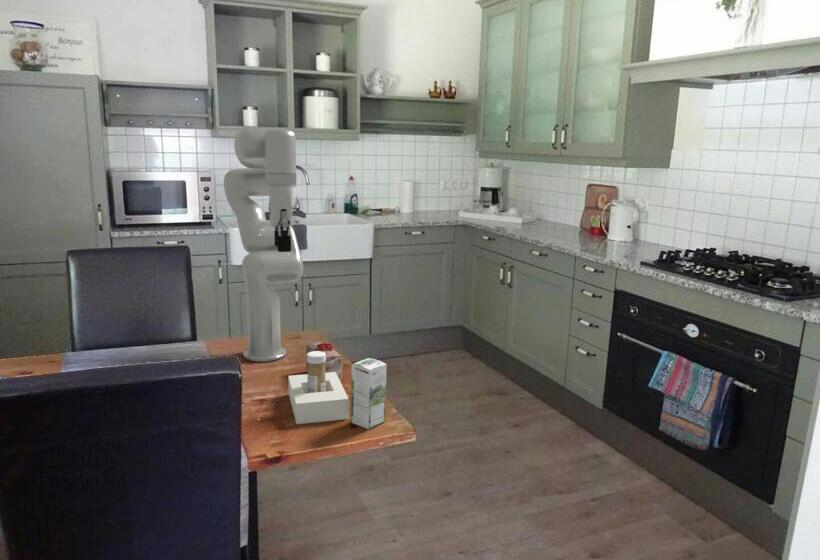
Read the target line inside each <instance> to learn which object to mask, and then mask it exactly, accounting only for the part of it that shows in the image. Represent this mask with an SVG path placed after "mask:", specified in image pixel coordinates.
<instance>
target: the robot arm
mask: <svg viewBox="0 0 820 560" xmlns="http://www.w3.org/2000/svg"><path fill="white" fill-rule="evenodd" d="M296 143H297V142H296V134H295V132H294V131H293V130H290V129H281V128H280V129H276V128H275V129H273V128H270V129H269V128H242V129H240V130H239V131H238V132H236V134H235V137H234V144H233V146H234V152H235V153H234V154H235V155H236V158H237V160H238V161H239V163H240V164H241V165H242V166H243V167H245V168H235V169H231V170H229V171H227V172H226V173H225V174H224V177H223V188H224V189H223V190H224V194H225V197H226V201H227V202H228V205H229V206H230V208H231V210H232V212H233V214H234V215H235V217H236V221H237V222H236V223H237V226H238V230H239V236H240V241H241V243H242V244H241V245H242V247H243V248H244V250H245V252H247V253H248V254H246V255H245V256H244V257H243V259H242V261H241V270H242V275H243V279H244V284H245V285H244V286H245V294H246V298H245V299H246V319H247V320H246V323H247V345H248V346H247V347H248V348H246V349H245V350H244V351H243V352H242V353H243V354H242V356H243V358H244V359H245V360H248V361H251V362H260V363H261V362H263V363H264V362H265V363H266V362H273V361H277V360H280V359H282V358H284V357H285V356H286V355H287V350H286V348H284V347H282V346H281V345H282V344H281V343H282V342H281V304H280V296H279V294H278V292H277V291H276V290H275V289H274V288H273V287H272V286H271V285H272V284H278V283H279V284H282V283H293V282H297V281H299V280H301V278H303V275H304V263H303V258H302V254H301V251H300V247H299V243H298V239H297V236H296V232H295V229H294V227H293V226H292V225H293V188H295V187H297V149H296V148H297V145H296ZM250 197H269V221H268V220H267V218H266V214H265V211H264V209H263V208H262V207H261V205H260V204H258V202H256V201H255V200H254V199H252V198H250Z"/></svg>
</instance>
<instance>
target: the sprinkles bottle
mask: <svg viewBox="0 0 820 560" xmlns="http://www.w3.org/2000/svg"><path fill="white" fill-rule="evenodd" d="M325 361H326V354H325V353H324V352H322V351H312V352H309V353H308V354H307V364H308V371H307V373H306V374H307V380H308V393H316V392H326V376H325Z"/></svg>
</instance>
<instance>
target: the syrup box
mask: <svg viewBox="0 0 820 560" xmlns="http://www.w3.org/2000/svg"><path fill="white" fill-rule="evenodd" d="M387 365H388V364H386V363H385V362H383V361H381V360H378V359H375V358H370V357H368V358H365V359H362V360H359V361H357V362H354V363H352V364H351V378H350V379H351V390H350V391H351V394H350V396H351V397H350V422H351V424H353V425H356V426H358V427H362V428H364V429H367V430H370V429H372V428H374V427H377V426H379V425H381V424H383V423H385V422H386V403H387V401H386V399H387V397H386V396H387V395H386V394H387Z"/></svg>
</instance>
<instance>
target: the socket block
mask: <svg viewBox="0 0 820 560" xmlns="http://www.w3.org/2000/svg"><path fill="white" fill-rule="evenodd" d="M325 376H326V392H316V393H308V380H307V373H306V374H296V375H295V374H294V375H288V381H287V382H288V396H289V400H290V405H291V408H292V412H293V415H294V420H295V424H296V425H304V424H312V423H313V424H315V423H321V422H322V423H323V422H331V421H340V420H341V421H342V420H349V419H350V417H349V416H350V414H349V411H350V409H349V407H350V406H349V405H350V403H349V402H350V398H349V397H348V394H347V393H346V391H345V388H344V387H343V384H342V381H341V382H340V380H339V378H338V376H337V374H336V372H328V373H325Z"/></svg>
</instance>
